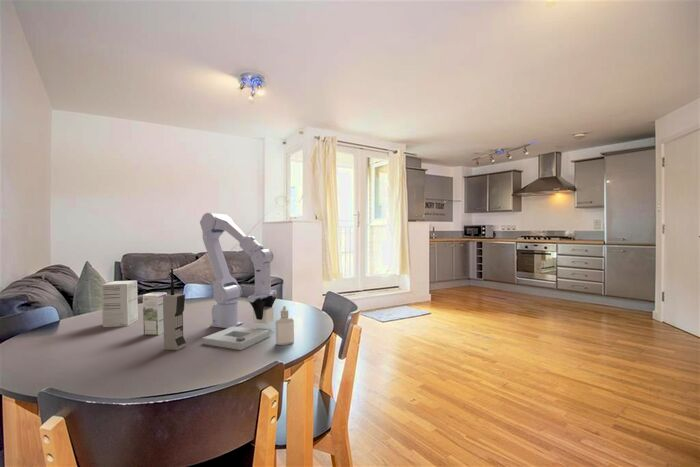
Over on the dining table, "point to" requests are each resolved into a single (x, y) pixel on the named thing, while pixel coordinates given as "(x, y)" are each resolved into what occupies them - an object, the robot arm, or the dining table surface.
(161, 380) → the dining table surface
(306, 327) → the dining table surface
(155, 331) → the syrup box
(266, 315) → the plug block
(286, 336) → the eye dropper bottle
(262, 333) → the socket plate
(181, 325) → the vintage mobile phone
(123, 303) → the supplement box
